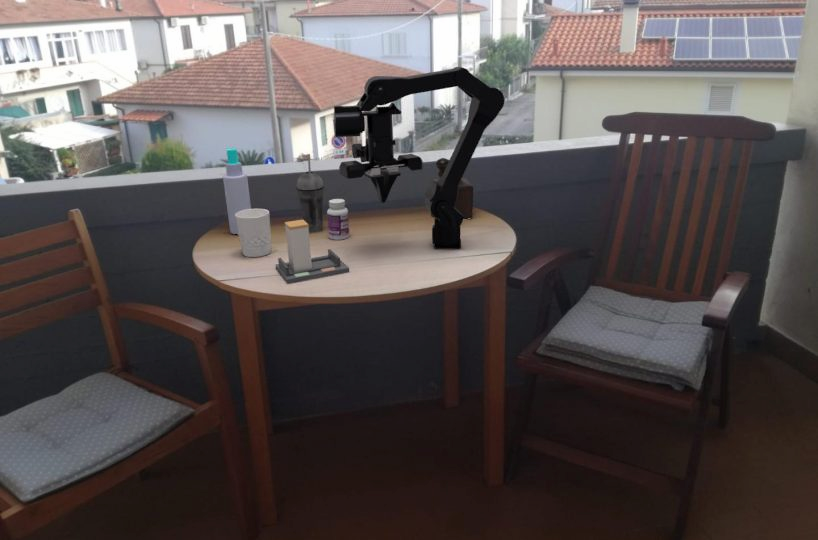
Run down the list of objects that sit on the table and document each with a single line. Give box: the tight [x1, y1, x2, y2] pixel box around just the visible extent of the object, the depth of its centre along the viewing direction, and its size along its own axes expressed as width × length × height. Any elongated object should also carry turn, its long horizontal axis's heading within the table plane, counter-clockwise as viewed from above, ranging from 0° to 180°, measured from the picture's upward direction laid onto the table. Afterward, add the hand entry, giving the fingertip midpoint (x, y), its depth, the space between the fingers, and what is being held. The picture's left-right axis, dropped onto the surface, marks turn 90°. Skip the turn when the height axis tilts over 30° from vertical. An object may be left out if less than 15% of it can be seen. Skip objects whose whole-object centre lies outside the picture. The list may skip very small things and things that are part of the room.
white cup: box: [235, 208, 272, 258], centre depth 151 cm, size 8×8×10 cm
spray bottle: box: [222, 148, 252, 236], centre depth 164 cm, size 6×6×22 cm
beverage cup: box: [295, 153, 325, 233], centre depth 165 cm, size 7×7×20 cm
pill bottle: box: [326, 198, 350, 241], centre depth 160 cm, size 5×5×10 cm
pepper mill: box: [430, 157, 474, 220], centre depth 172 cm, size 16×11×18 cm
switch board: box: [274, 249, 350, 285], centre depth 140 cm, size 14×10×3 cm
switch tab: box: [284, 219, 312, 272], centre depth 137 cm, size 4×4×10 cm
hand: (382, 202), depth 147 cm, fingers closed
